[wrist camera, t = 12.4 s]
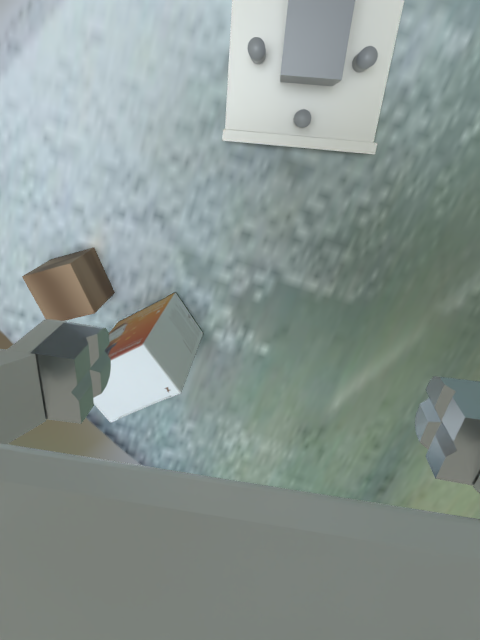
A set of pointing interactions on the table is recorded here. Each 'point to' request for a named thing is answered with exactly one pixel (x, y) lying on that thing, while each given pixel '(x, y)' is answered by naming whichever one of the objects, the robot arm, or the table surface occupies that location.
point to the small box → (149, 357)
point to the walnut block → (70, 285)
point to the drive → (316, 41)
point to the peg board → (303, 99)
